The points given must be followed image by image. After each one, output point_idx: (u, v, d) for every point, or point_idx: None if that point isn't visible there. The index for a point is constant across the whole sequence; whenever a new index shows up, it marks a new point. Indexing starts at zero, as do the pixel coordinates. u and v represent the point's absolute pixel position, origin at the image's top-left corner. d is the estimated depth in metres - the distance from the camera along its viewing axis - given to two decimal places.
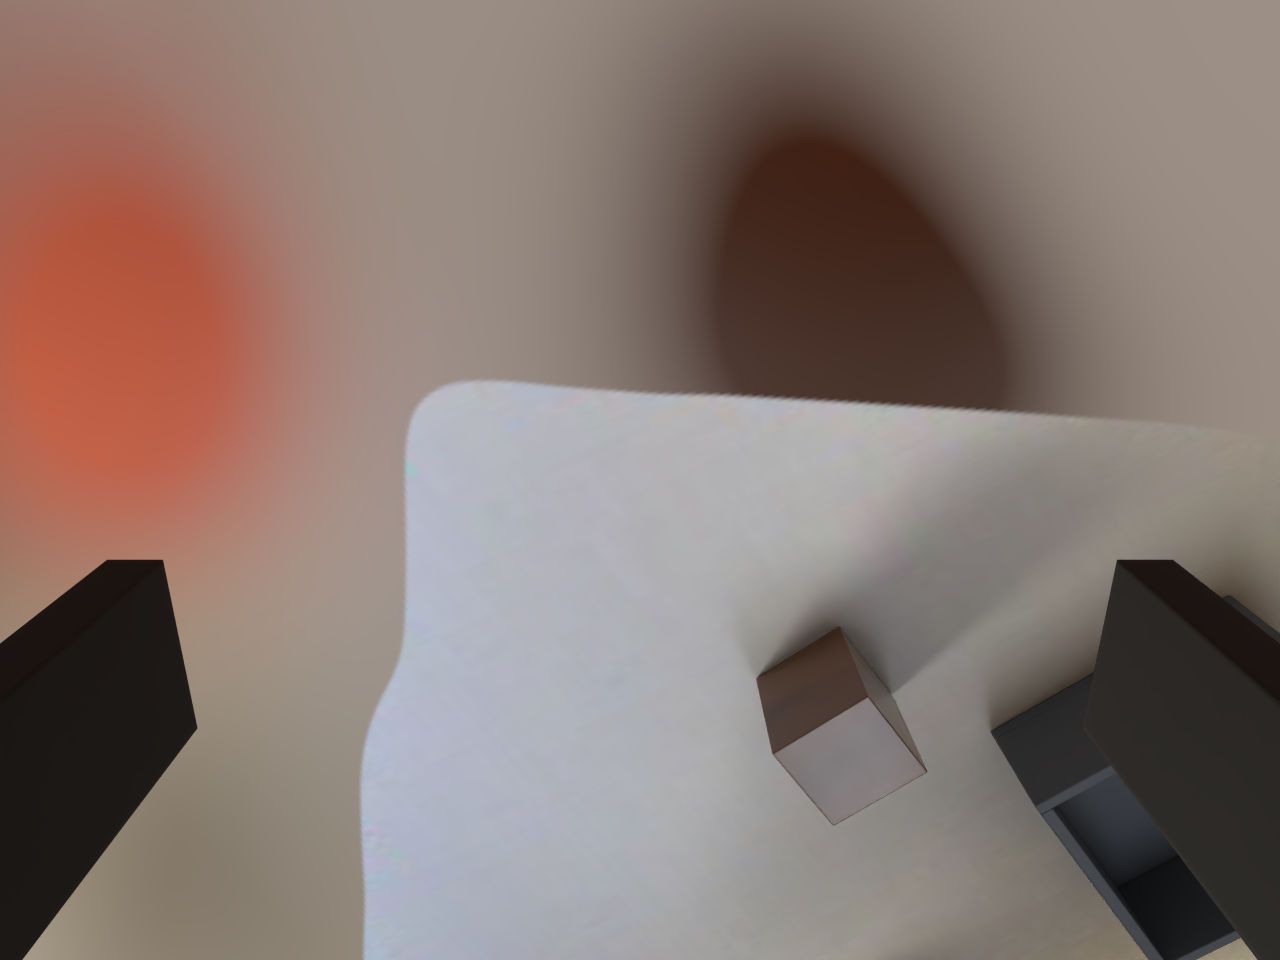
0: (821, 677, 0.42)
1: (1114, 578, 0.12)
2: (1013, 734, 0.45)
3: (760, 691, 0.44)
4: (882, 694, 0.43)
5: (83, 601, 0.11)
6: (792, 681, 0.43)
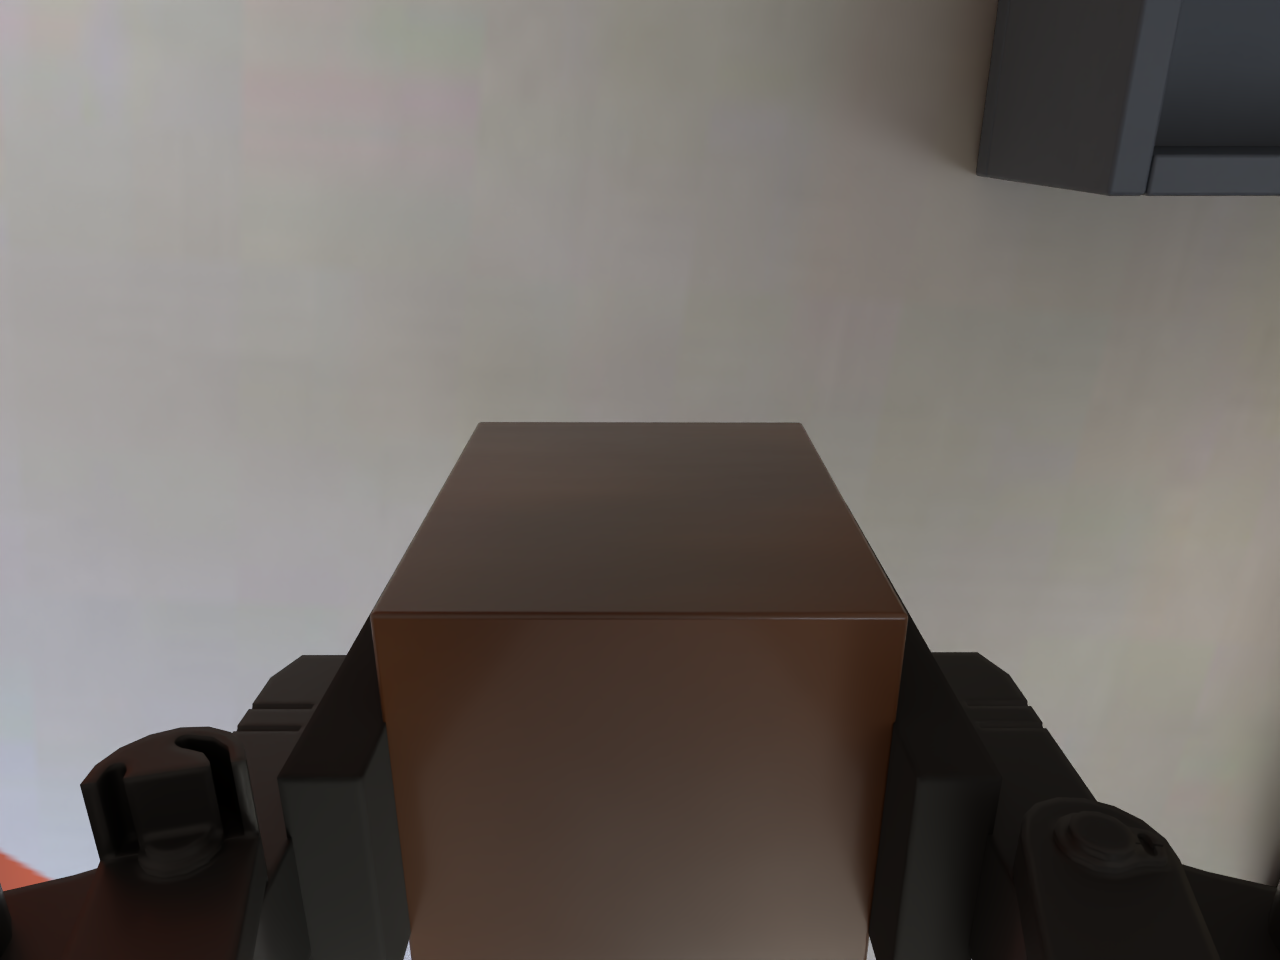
0: None
1: None
2: (998, 129, 0.18)
3: None
4: (660, 481, 0.11)
5: None
6: None
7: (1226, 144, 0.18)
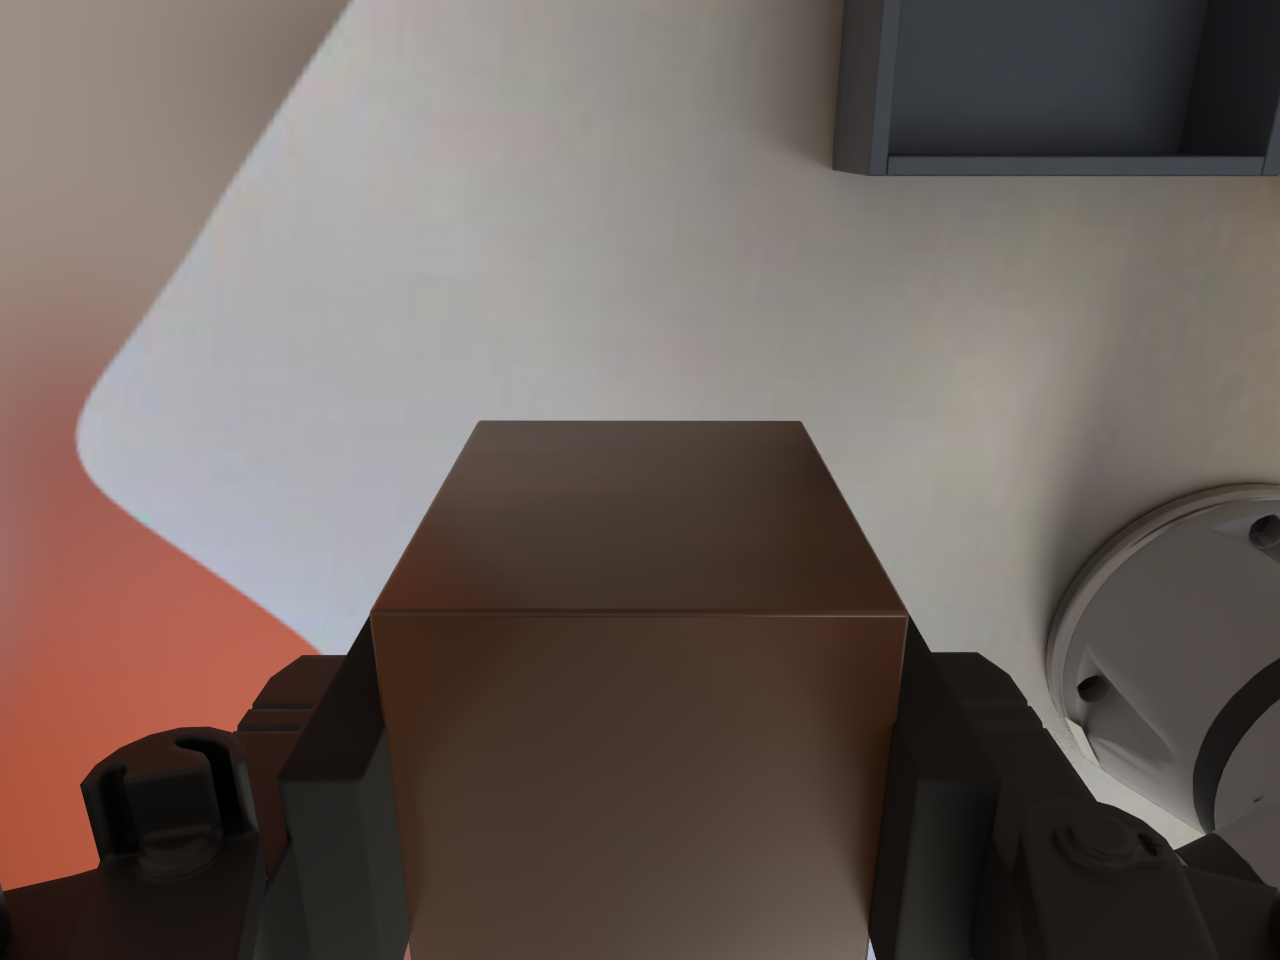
0: None
1: None
2: (839, 144, 0.33)
3: None
4: (660, 479, 0.11)
5: None
6: None
7: (966, 152, 0.33)
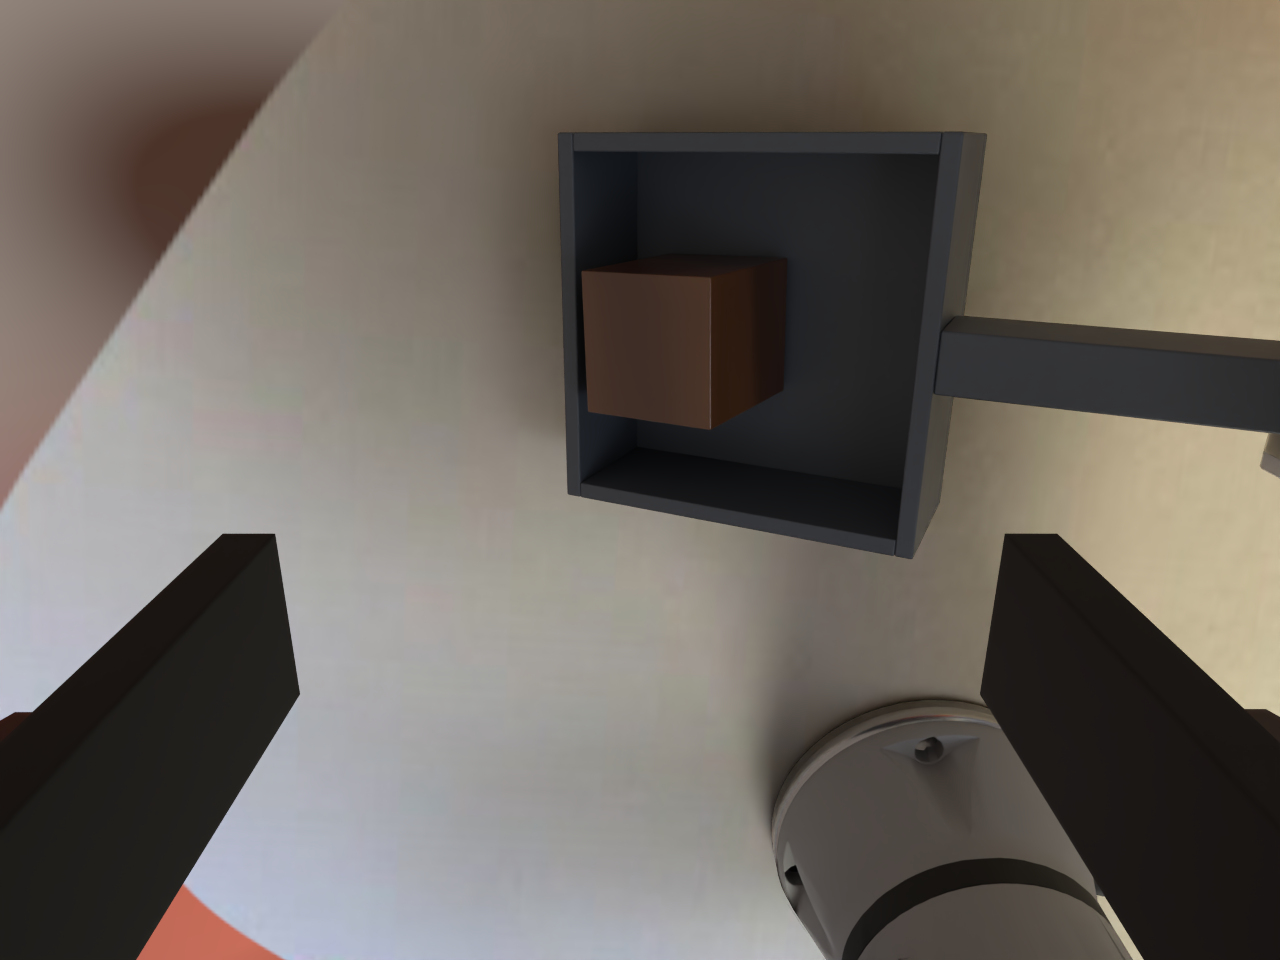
0: None
1: (1003, 551, 0.13)
2: None
3: None
4: (700, 262, 0.32)
5: (212, 569, 0.12)
6: None
7: (729, 459, 0.37)
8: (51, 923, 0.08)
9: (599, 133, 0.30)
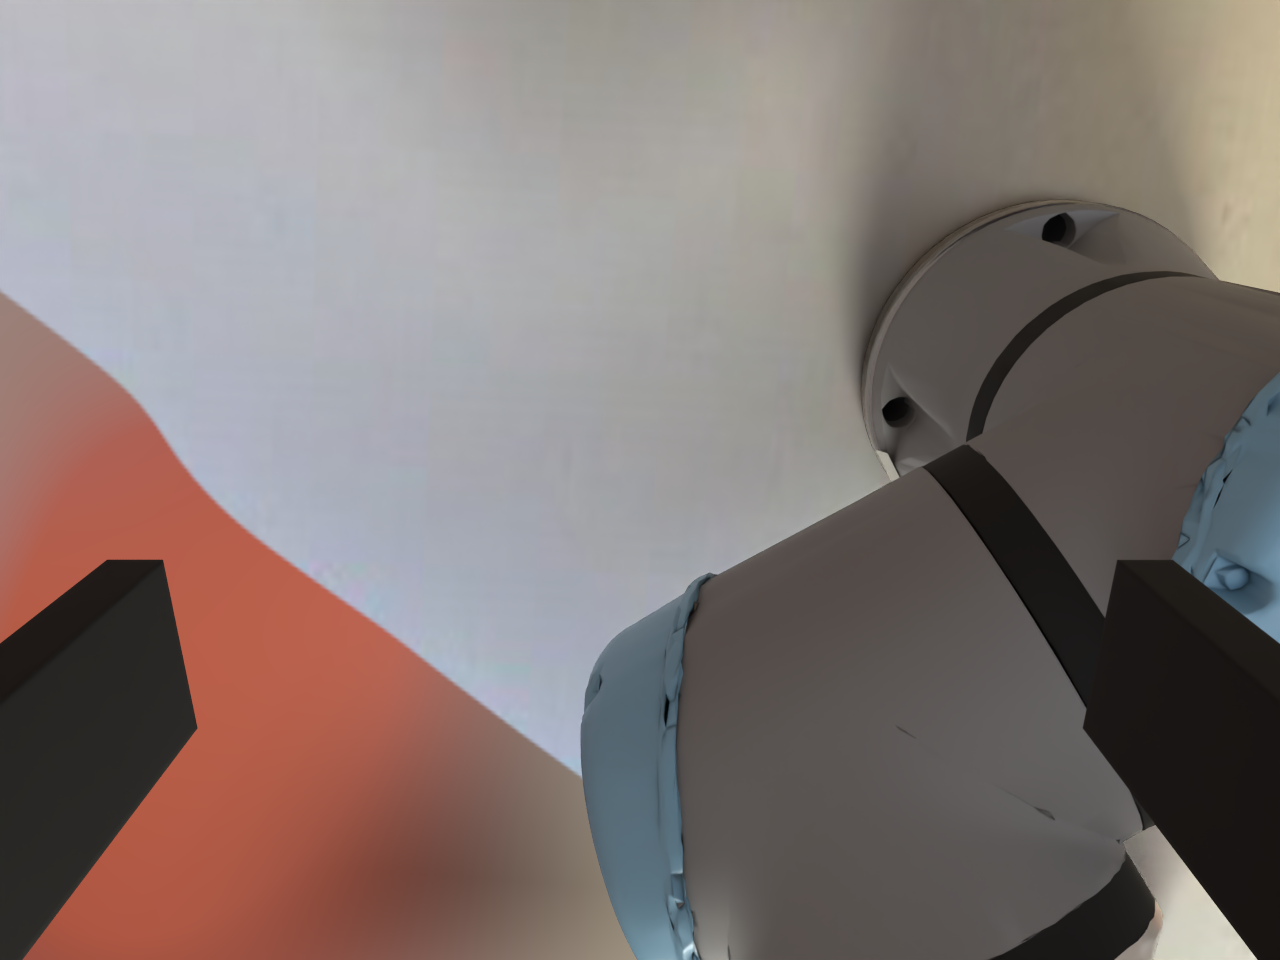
0: None
1: (1114, 578, 0.12)
2: None
3: None
4: None
5: (84, 600, 0.11)
6: None
7: None
8: None
9: None
